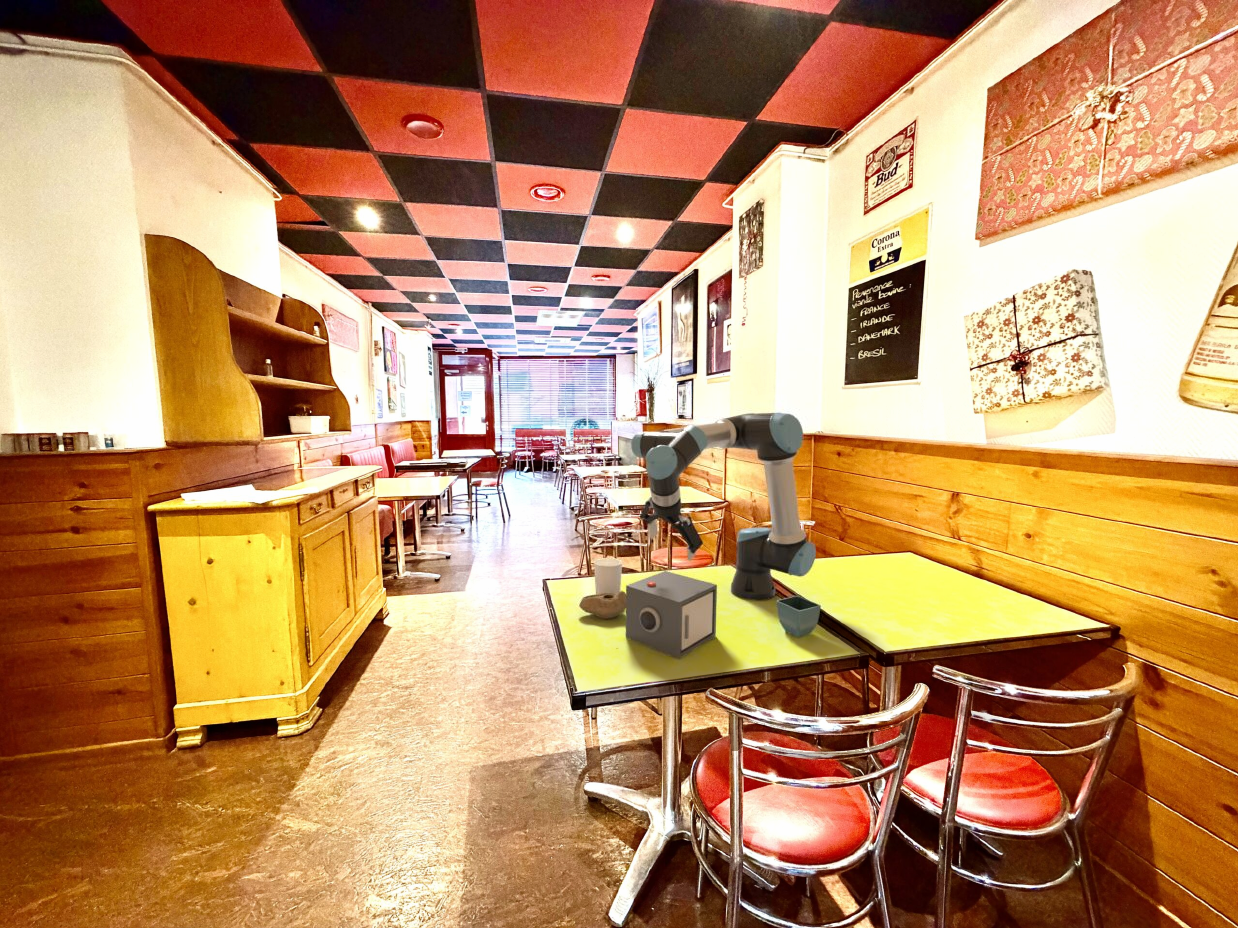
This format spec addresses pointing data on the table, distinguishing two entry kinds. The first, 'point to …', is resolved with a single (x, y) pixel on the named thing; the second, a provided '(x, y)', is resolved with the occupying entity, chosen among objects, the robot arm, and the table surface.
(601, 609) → the oil lamp
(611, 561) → the candle holder
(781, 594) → the table surface
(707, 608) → the side door
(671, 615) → the cabinet with door
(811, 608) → the flower pot
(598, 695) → the table surface
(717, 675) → the table surface
